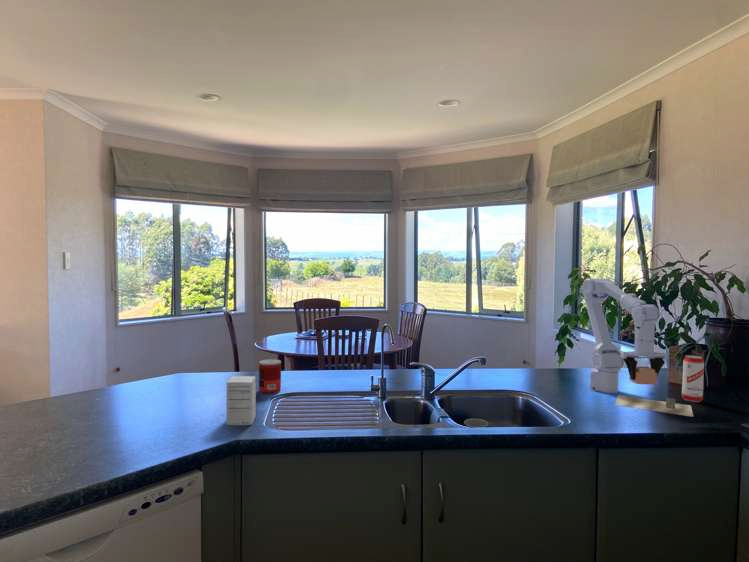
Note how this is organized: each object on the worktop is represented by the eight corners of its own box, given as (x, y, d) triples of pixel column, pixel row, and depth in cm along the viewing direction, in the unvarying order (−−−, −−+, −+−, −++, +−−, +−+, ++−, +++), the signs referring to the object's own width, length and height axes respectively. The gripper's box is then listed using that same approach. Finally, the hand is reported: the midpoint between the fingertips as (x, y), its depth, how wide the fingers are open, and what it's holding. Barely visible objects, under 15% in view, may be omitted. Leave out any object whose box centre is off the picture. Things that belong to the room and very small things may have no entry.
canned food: (284, 389, 173) (285, 360, 172) (271, 395, 165) (271, 364, 165) (268, 387, 176) (268, 358, 175) (254, 392, 169) (254, 362, 168)
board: (614, 408, 158) (615, 395, 158) (617, 398, 170) (618, 386, 170) (693, 420, 146) (694, 407, 146) (690, 409, 158) (691, 396, 158)
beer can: (705, 403, 165) (707, 358, 165) (686, 402, 166) (688, 357, 166) (697, 398, 171) (699, 355, 171) (678, 397, 173) (680, 354, 172)
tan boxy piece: (637, 384, 157) (637, 368, 157) (629, 380, 162) (630, 365, 162) (656, 384, 157) (657, 369, 156) (648, 380, 162) (649, 366, 161)
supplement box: (231, 417, 141) (231, 375, 141) (256, 416, 142) (256, 375, 142) (225, 425, 134) (225, 382, 134) (251, 425, 135) (252, 382, 134)
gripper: (628, 341, 155) (626, 381, 156) (673, 342, 154) (671, 383, 155) (618, 338, 162) (617, 376, 163) (661, 339, 161) (659, 378, 162)
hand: (642, 379), depth 159 cm, fingers closed on tan boxy piece, 6 cm apart
